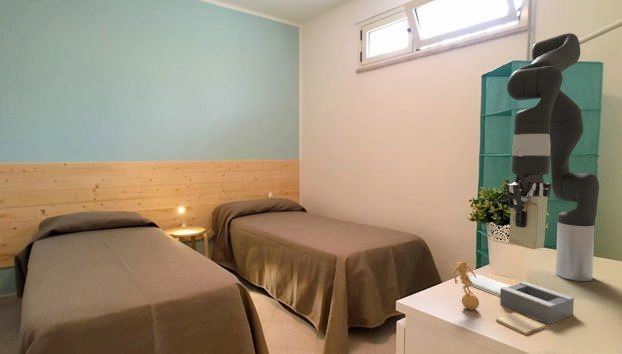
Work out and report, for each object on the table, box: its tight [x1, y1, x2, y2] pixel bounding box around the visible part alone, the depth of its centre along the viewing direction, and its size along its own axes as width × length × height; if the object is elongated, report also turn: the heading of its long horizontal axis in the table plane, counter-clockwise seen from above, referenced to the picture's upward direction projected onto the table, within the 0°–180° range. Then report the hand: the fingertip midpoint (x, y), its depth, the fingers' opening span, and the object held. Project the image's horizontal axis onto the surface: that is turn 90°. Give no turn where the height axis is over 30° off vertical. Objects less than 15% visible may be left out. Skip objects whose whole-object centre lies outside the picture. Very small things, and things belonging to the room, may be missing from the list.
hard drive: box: [460, 274, 511, 297], centre depth 100 cm, size 2×8×12 cm
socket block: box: [499, 281, 575, 325], centre depth 85 cm, size 10×12×4 cm
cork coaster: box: [495, 311, 546, 336], centre depth 78 cm, size 7×7×1 cm
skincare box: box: [508, 196, 549, 250], centre depth 80 cm, size 6×4×12 cm
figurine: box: [452, 260, 480, 311], centre depth 86 cm, size 8×6×12 cm
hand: (527, 225), depth 80 cm, fingers closed on skincare box, 4 cm apart
